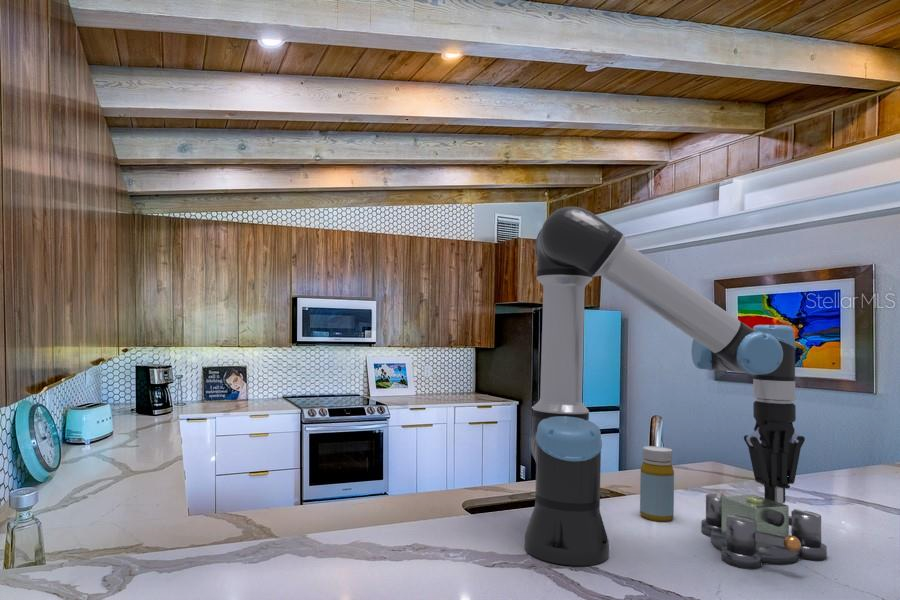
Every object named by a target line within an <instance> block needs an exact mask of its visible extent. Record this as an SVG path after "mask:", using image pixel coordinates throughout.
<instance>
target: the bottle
mask: <svg viewBox="0 0 900 600" xmlns="http://www.w3.org/2000/svg"><path fill="white" fill-rule="evenodd" d="M672 460H673V449H672V448H669V447H665V446H658V445H657V446H656V445H646V446H643V447H642V464H641V466H640V483H639V484H640V487H639V489H640V490H639V491H640V493H639V513H640V515H641V516H642V518H644V519H646V520H649V521H652V522H653V521H654V522H660V523H661V522H665V523H666V522H670V521H671V520H673V518H674V512H675V506H674V505H675V502H674V501H675V499H674V498H675V471H674V467H673V461H672Z"/></svg>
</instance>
